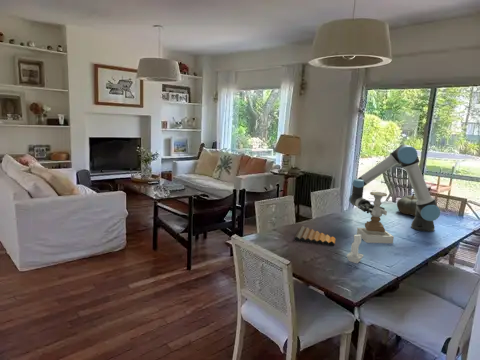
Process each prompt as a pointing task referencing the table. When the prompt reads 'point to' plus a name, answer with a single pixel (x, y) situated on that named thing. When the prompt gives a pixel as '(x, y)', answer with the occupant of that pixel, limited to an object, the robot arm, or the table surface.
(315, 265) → the table surface
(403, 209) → the gourd
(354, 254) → the figurine
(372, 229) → the candle holder
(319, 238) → the pan flute
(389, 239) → the rimmed tray
